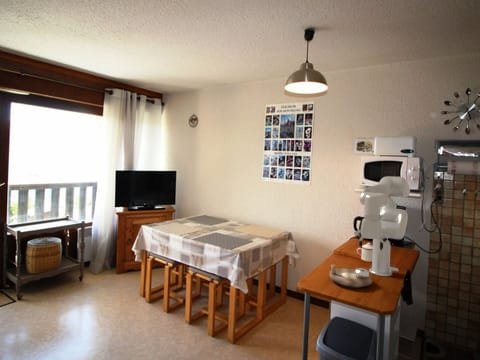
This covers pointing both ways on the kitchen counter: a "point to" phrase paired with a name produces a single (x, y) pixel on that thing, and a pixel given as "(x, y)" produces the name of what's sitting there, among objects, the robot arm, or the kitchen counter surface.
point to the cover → (361, 273)
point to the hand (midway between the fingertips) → (370, 248)
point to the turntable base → (350, 286)
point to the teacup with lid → (366, 252)
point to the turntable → (348, 277)
